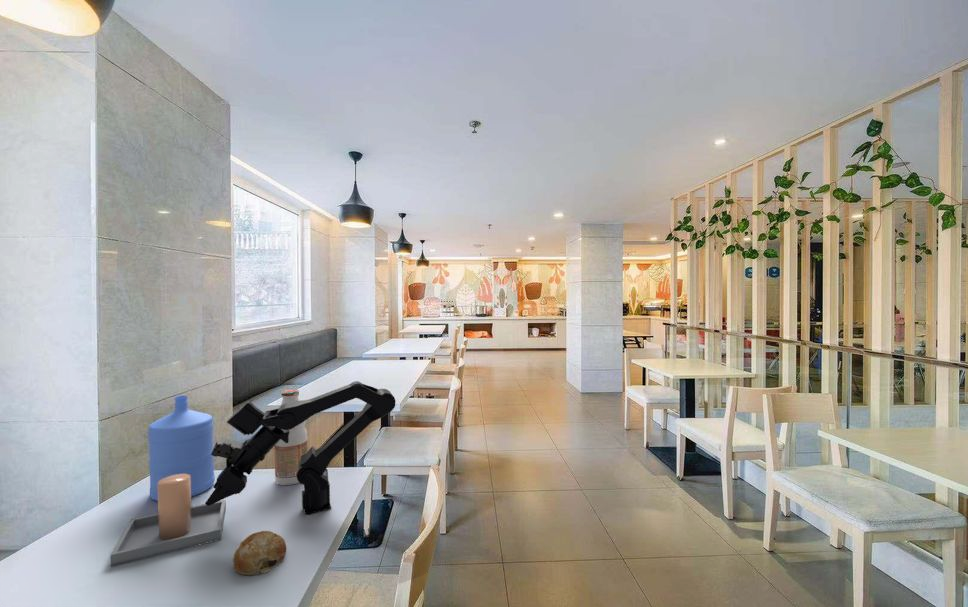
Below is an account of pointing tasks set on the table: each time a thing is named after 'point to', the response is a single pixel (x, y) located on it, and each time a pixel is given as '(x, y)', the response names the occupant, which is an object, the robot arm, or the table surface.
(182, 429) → the water jug
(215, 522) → the grey tray
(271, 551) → the bread roll
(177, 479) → the peach rounded cylinder
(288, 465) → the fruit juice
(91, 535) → the table surface
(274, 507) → the table surface
